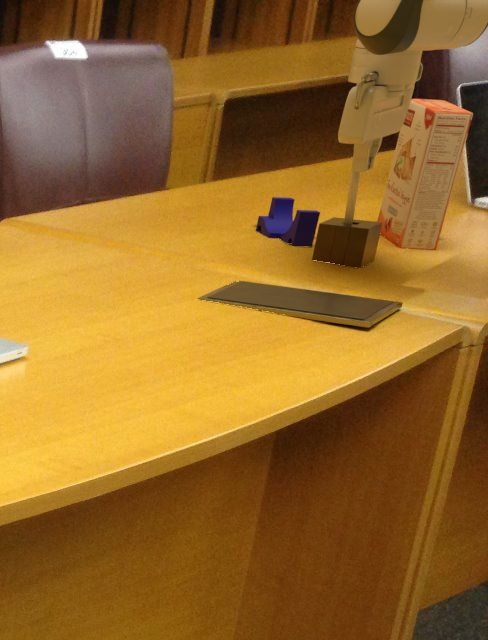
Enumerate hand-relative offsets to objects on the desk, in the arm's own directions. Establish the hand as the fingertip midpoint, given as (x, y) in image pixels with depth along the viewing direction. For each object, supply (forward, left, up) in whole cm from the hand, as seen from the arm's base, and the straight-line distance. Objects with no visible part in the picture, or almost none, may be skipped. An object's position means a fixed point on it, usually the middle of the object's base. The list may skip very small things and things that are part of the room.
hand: (362, 170), depth 224 cm
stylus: (0, 0, -11) cm, 11 cm away
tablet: (-4, +33, -14) cm, 36 cm away
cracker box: (-2, -24, -14) cm, 27 cm away
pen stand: (0, 0, -14) cm, 14 cm away
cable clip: (+12, -10, -13) cm, 21 cm away
